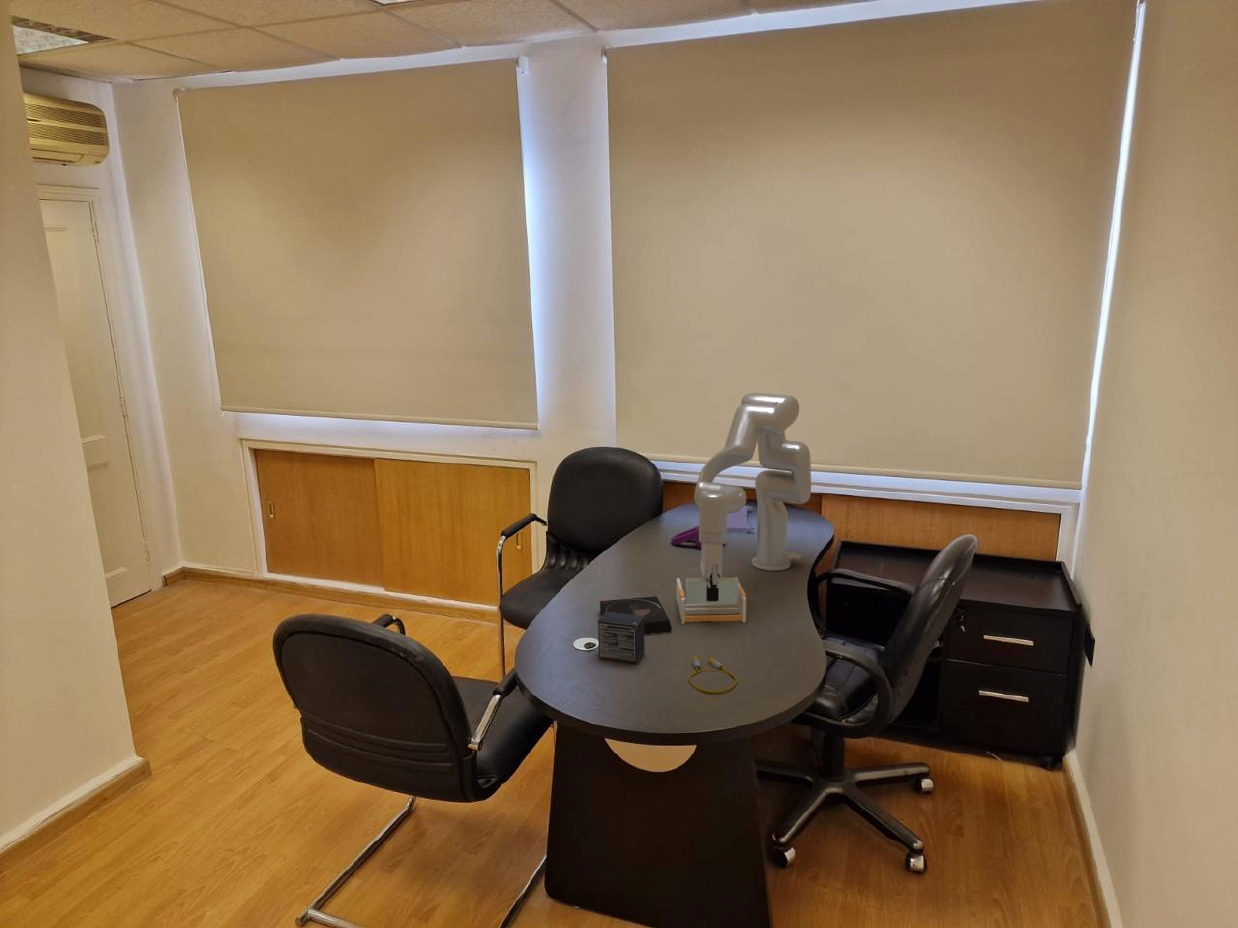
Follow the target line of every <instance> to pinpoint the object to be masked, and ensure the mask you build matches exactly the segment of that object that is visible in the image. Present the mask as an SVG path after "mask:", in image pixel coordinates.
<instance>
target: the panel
mask: <svg viewBox="0 0 1238 928" xmlns="http://www.w3.org/2000/svg"><path fill="white" fill-rule="evenodd" d="M737 578H738V577H737ZM737 578H734V577H721V578H720V579H719V577H718V587H719V600H718V601H707V587H708V578H707V579H704V577H688V578H686V579H685V597H686V602H687V603H686V604H713V603H737V598H738V581H739V579H738V580H737ZM711 581H712V580H710V582H711Z"/></svg>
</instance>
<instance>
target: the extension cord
mask: <svg viewBox="0 0 1238 928" xmlns="http://www.w3.org/2000/svg"><path fill="white" fill-rule="evenodd" d="M691 659H692V660H691V661H692V666H693V667H694V668H695V669H694V671H693V672H692V673H691V674H690V675H689V676H688V682H689V684H690V685H691V687H692V688H694V689H695V690H696V691H699V692H702V693H705V694H706V693H707V694H713V695H719V694H725V693H728V692H730V691H731V690H733V689H734V688H735V687H736V685H737V684H738V682H739V681H738V678H737V677H736V675H734V674H733V673H732V672H730V671H729V670H727V669H726V668H724V664H723V663H722V662H719V660H716V657H710V658H709V659H707V665H709V666H711V667H713V668H716V670H715V669H706V668H705V669H701V662H700V659H699V658H698V657H697V656H694V657H692V658H691ZM717 669H718V670H717ZM722 670H723V671H722ZM700 672H717V673H723V674H727V675H729V676H731V677H733V678H734V679H735V681H734V683H733V684H732V685H731V686H729V687H727V688H724V689H720V690H707V689H703V688H701V687H699V686H696V684H694V682H692V681H691V679H692V676H694V675H697V674H698V673H700Z"/></svg>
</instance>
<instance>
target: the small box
mask: <svg viewBox="0 0 1238 928" xmlns="http://www.w3.org/2000/svg"><path fill="white" fill-rule="evenodd" d="M597 627H598V629H597V630H598V637H597V638H598V659H599V660H605V661H614V662H620V663H628V664H636V665H638V664H639V662H640V661H641V659H642V658H643V657H644V655H645V635H644V616H638V615H630V614H622V613H613V612H605V613H604V614H603V615H602V616H601V615H600V617H599V619H598V620H597Z"/></svg>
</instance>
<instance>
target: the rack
mask: <svg viewBox="0 0 1238 928" xmlns="http://www.w3.org/2000/svg"><path fill="white" fill-rule="evenodd" d="M733 578H737V580H738V598H737V603H698V604H687V602H686V596H685V593H684V592H685V591H684V589H683V588H682V582H681V579H680V577H677V578H676V603H677V609H678V612H679V617H680V623H681V625H685V623H696V622H697V623H700V622H702V621H704V622H705V621H712V622H742V623H744V624H745V623H747V622H746V620H747V617H746V616H747V598H746V597H747V596H746V592H745V589H744V587H742V585H741V584H740V580H739V579H738V577H737V576H734V577H733ZM695 621H696V622H695ZM699 621H700V622H699ZM704 622H703V623H704ZM705 623H706V622H705Z"/></svg>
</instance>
